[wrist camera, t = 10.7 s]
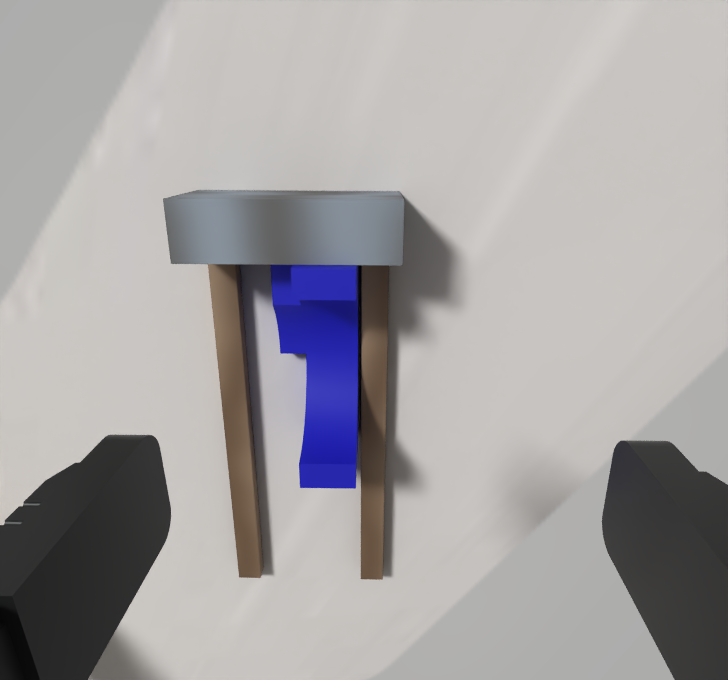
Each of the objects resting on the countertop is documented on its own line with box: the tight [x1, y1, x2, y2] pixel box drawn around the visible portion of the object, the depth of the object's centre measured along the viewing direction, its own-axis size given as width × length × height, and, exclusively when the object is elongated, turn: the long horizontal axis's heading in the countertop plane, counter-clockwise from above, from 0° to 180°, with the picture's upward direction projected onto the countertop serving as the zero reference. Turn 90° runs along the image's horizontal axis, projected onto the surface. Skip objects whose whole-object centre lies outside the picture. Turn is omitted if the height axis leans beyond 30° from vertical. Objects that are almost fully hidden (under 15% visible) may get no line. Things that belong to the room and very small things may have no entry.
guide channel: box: [163, 190, 404, 579], centre depth 31 cm, size 11×26×5 cm, turn 0°
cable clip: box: [271, 265, 359, 488], centre depth 29 cm, size 12×4×6 cm, turn 0°
